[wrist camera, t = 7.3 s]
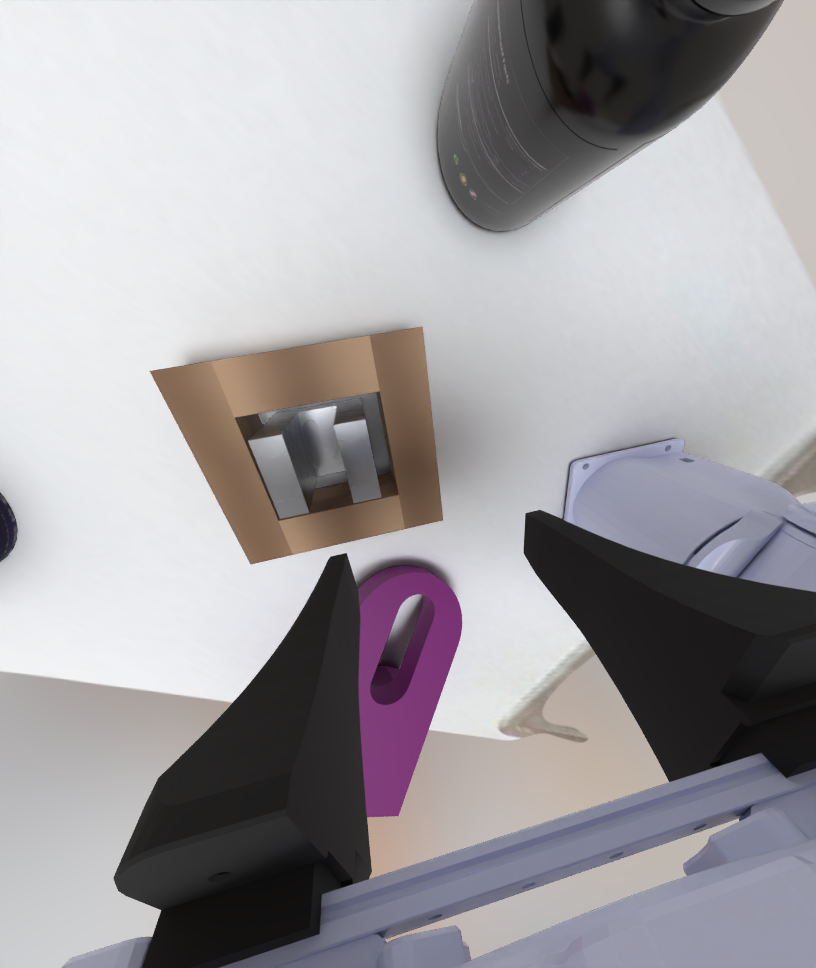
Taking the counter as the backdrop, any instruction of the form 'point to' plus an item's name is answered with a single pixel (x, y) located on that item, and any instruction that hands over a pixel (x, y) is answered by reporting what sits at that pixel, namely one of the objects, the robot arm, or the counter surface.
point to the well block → (300, 381)
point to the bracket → (315, 453)
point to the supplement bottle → (577, 92)
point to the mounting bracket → (401, 679)
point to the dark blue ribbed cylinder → (6, 529)
